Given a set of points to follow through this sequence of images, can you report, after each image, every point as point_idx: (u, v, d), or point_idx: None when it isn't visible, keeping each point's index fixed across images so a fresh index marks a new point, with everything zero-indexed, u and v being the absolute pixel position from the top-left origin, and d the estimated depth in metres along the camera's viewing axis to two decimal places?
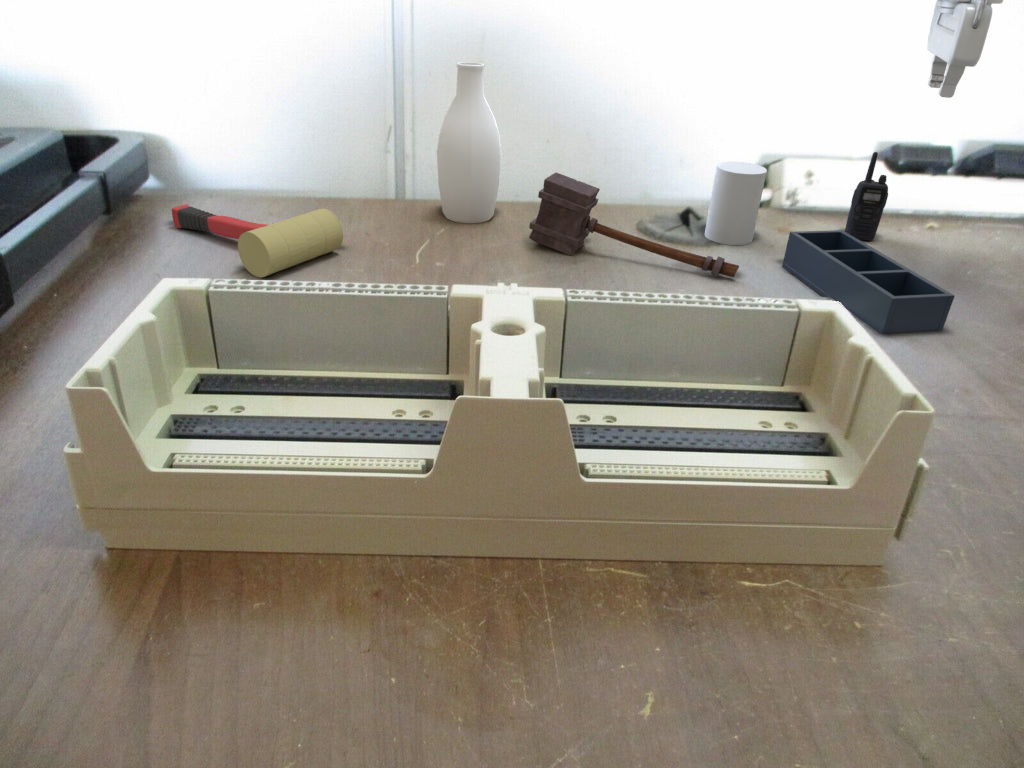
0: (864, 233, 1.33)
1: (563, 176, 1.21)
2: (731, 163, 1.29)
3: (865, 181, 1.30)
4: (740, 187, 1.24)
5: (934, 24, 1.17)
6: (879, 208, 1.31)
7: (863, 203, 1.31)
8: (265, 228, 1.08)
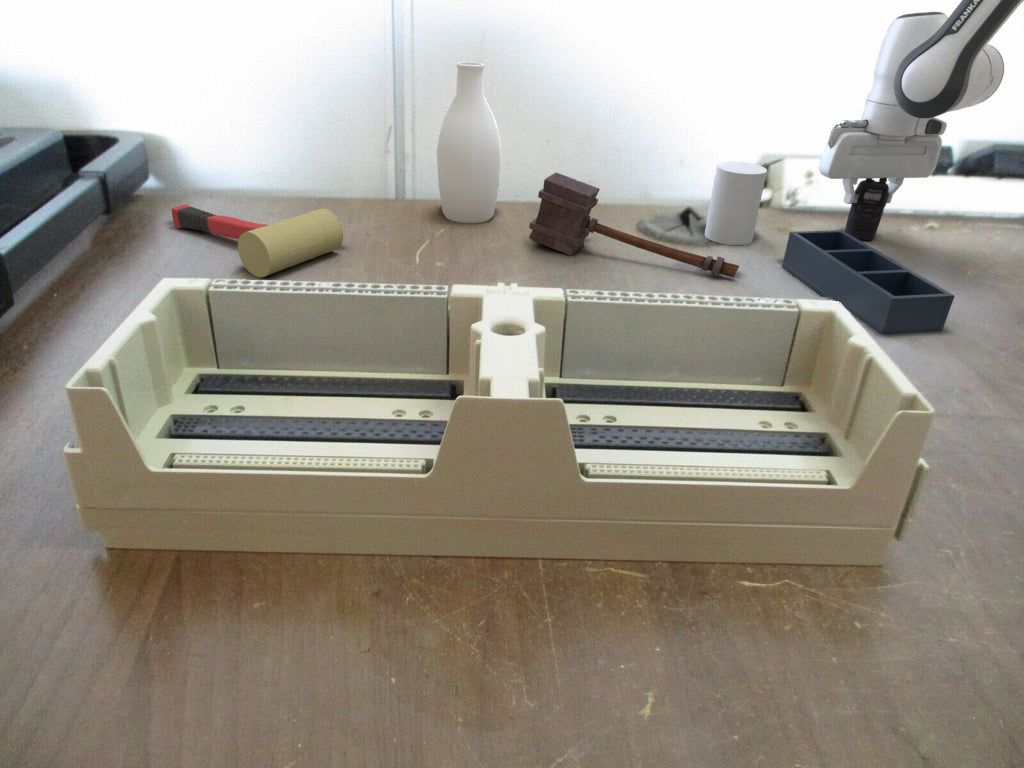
0: (865, 233, 1.33)
1: (563, 176, 1.21)
2: (731, 163, 1.29)
3: (866, 180, 1.30)
4: (740, 187, 1.24)
5: None
6: (879, 208, 1.31)
7: (863, 203, 1.31)
8: (265, 228, 1.08)
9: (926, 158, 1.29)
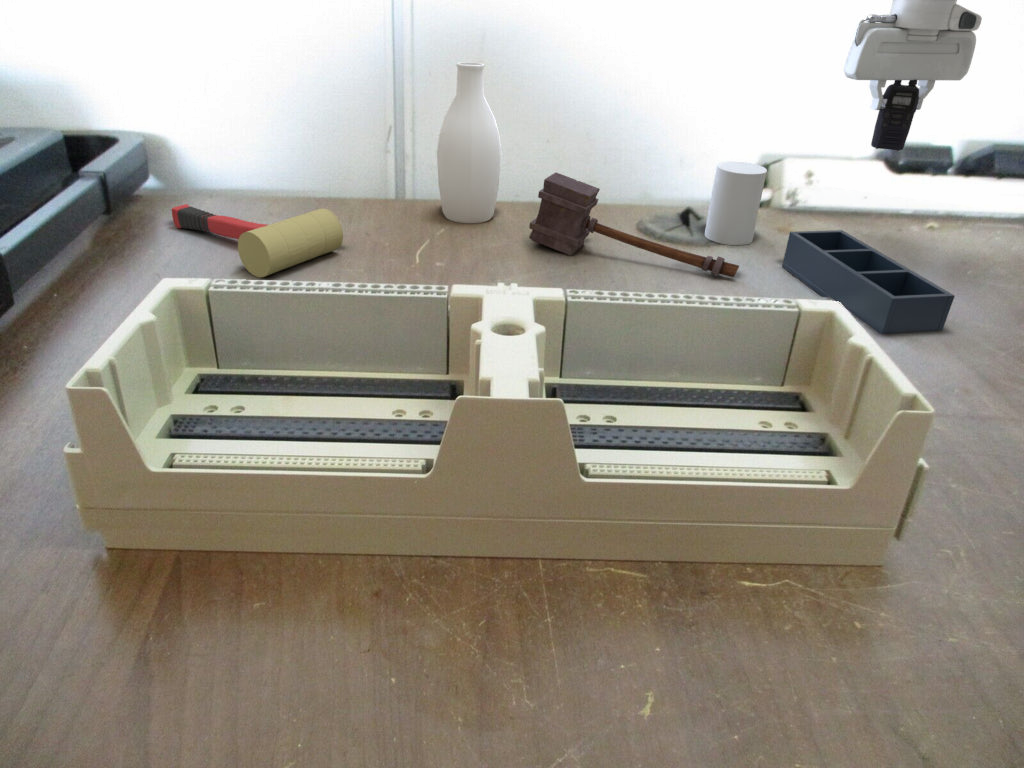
0: (893, 142, 1.25)
1: (563, 176, 1.21)
2: (731, 163, 1.29)
3: (894, 84, 1.22)
4: (740, 187, 1.24)
5: None
6: (909, 113, 1.22)
7: (892, 108, 1.23)
8: (265, 228, 1.08)
9: (959, 58, 1.20)
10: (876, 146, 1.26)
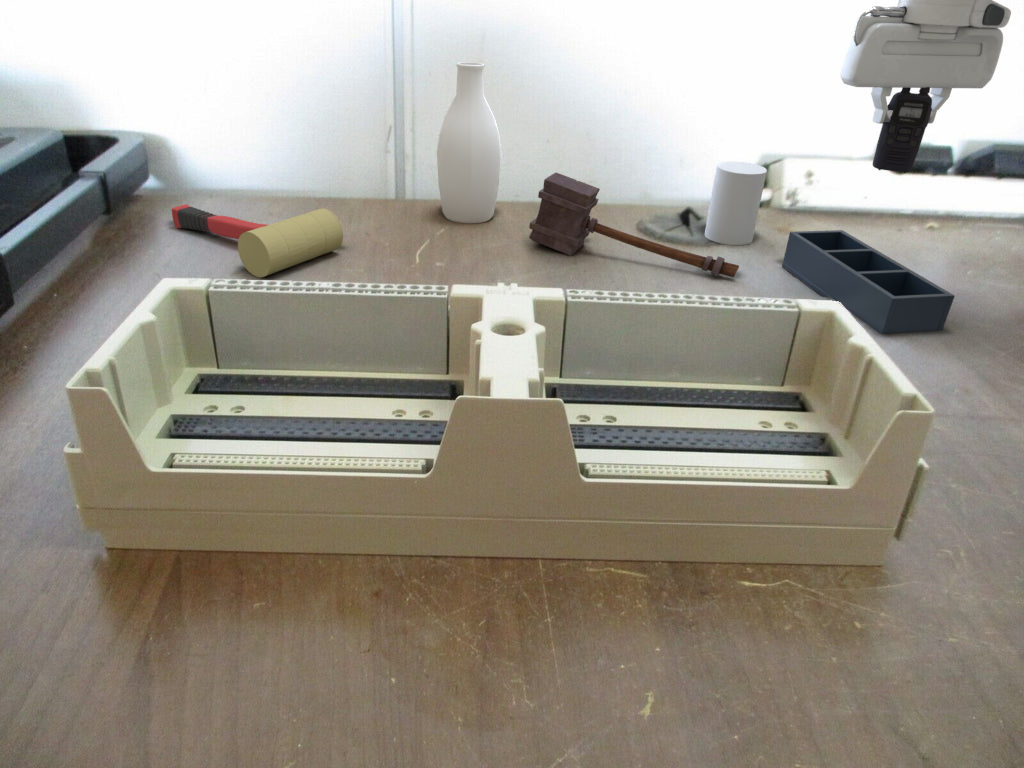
0: (900, 162, 1.03)
1: (563, 176, 1.21)
2: (731, 163, 1.29)
3: (902, 92, 1.00)
4: (740, 187, 1.24)
5: None
6: (920, 128, 1.00)
7: (898, 122, 1.01)
8: (265, 228, 1.08)
9: (982, 61, 0.98)
10: (878, 167, 1.04)
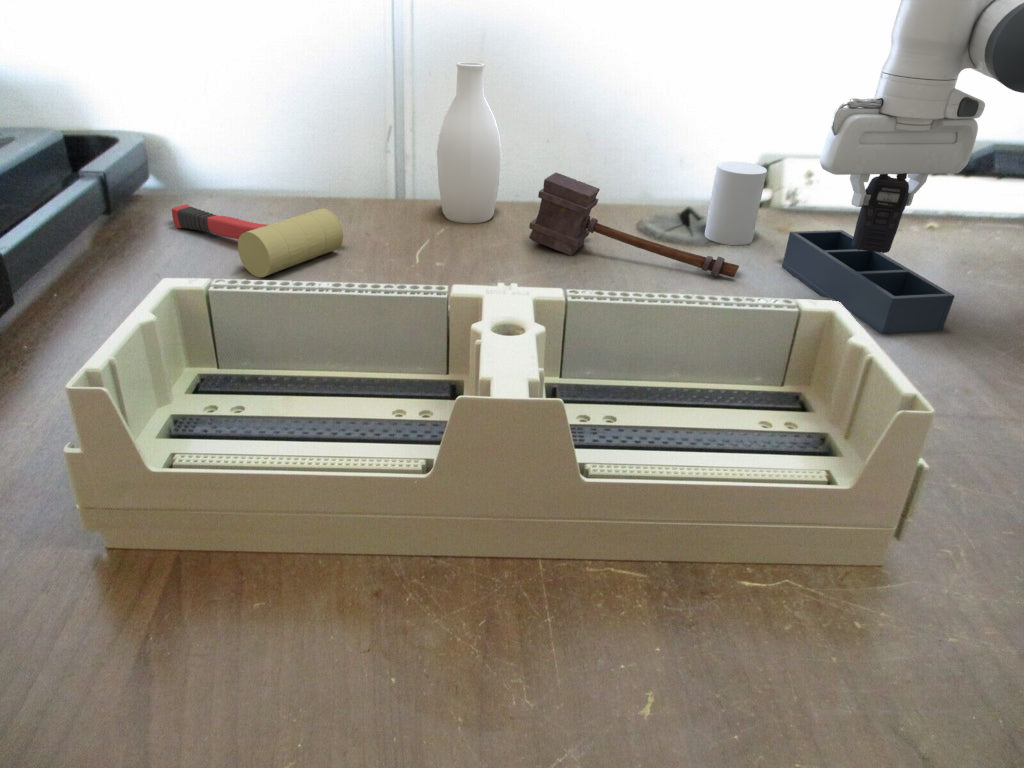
0: (878, 244, 1.05)
1: (563, 176, 1.21)
2: (731, 163, 1.29)
3: (880, 177, 1.02)
4: (740, 187, 1.24)
5: None
6: (897, 212, 1.03)
7: (876, 205, 1.03)
8: (265, 228, 1.08)
9: (957, 148, 1.00)
10: (857, 247, 1.06)
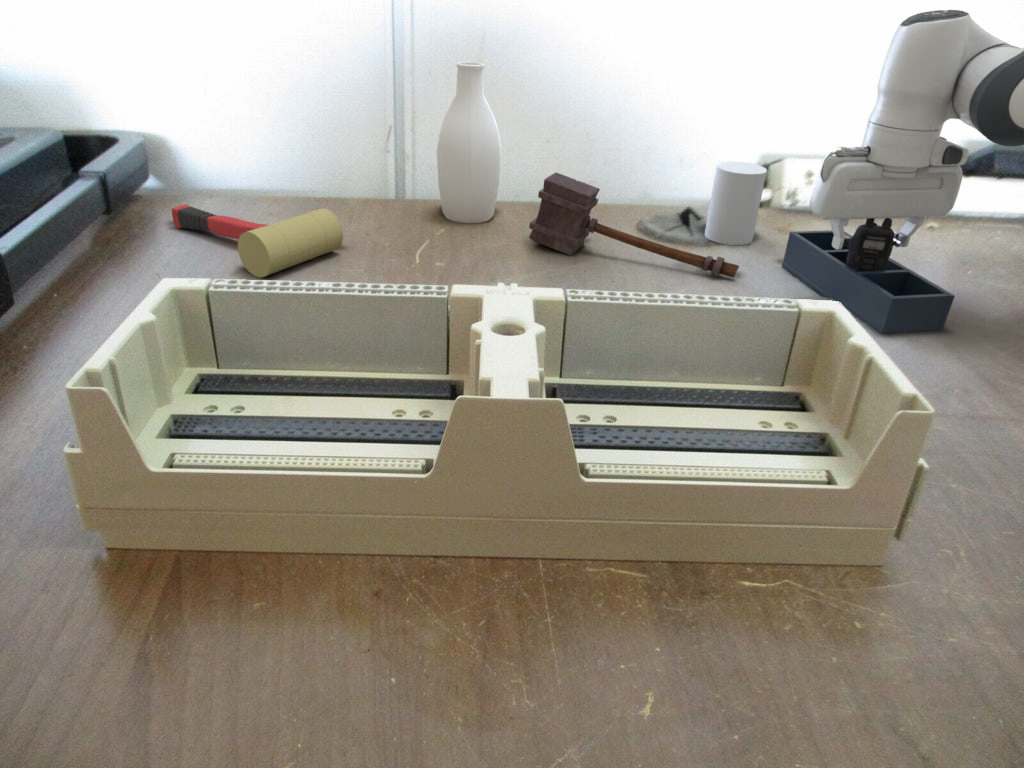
0: None
1: (563, 176, 1.21)
2: (731, 163, 1.29)
3: (865, 225, 1.05)
4: (740, 187, 1.24)
5: None
6: (883, 259, 1.06)
7: (863, 253, 1.06)
8: (265, 228, 1.08)
9: (943, 193, 1.03)
10: None
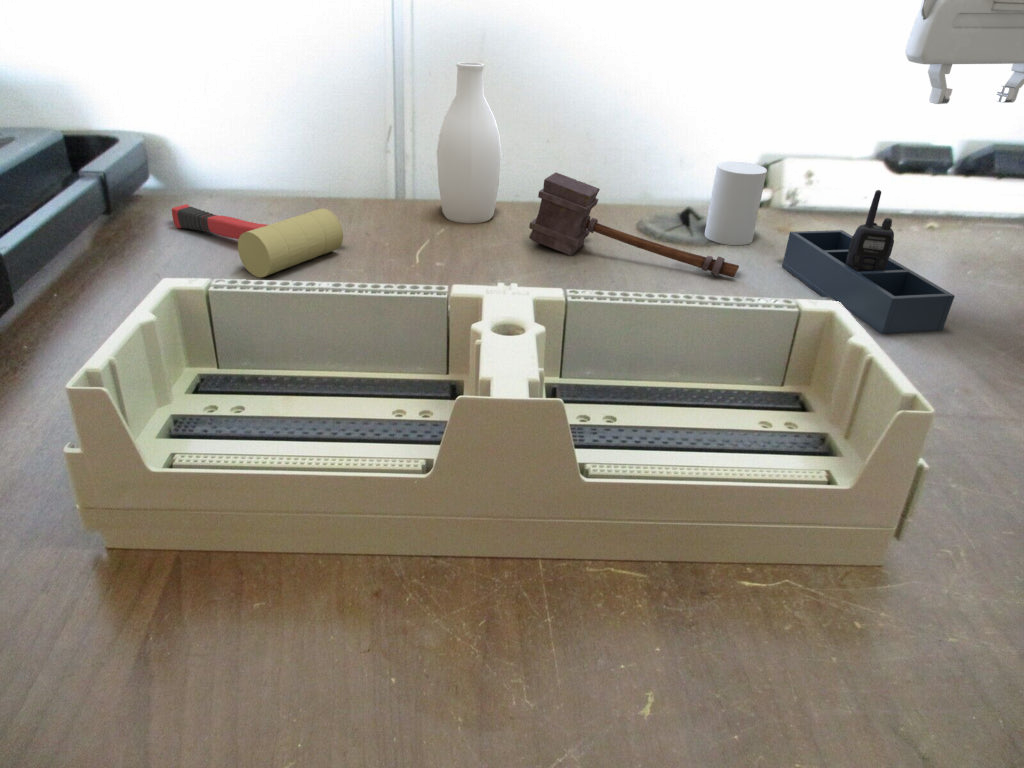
0: None
1: (563, 176, 1.21)
2: (731, 163, 1.29)
3: (865, 225, 1.05)
4: (740, 187, 1.24)
5: None
6: (883, 259, 1.06)
7: (863, 253, 1.06)
8: (265, 228, 1.08)
9: None
10: None
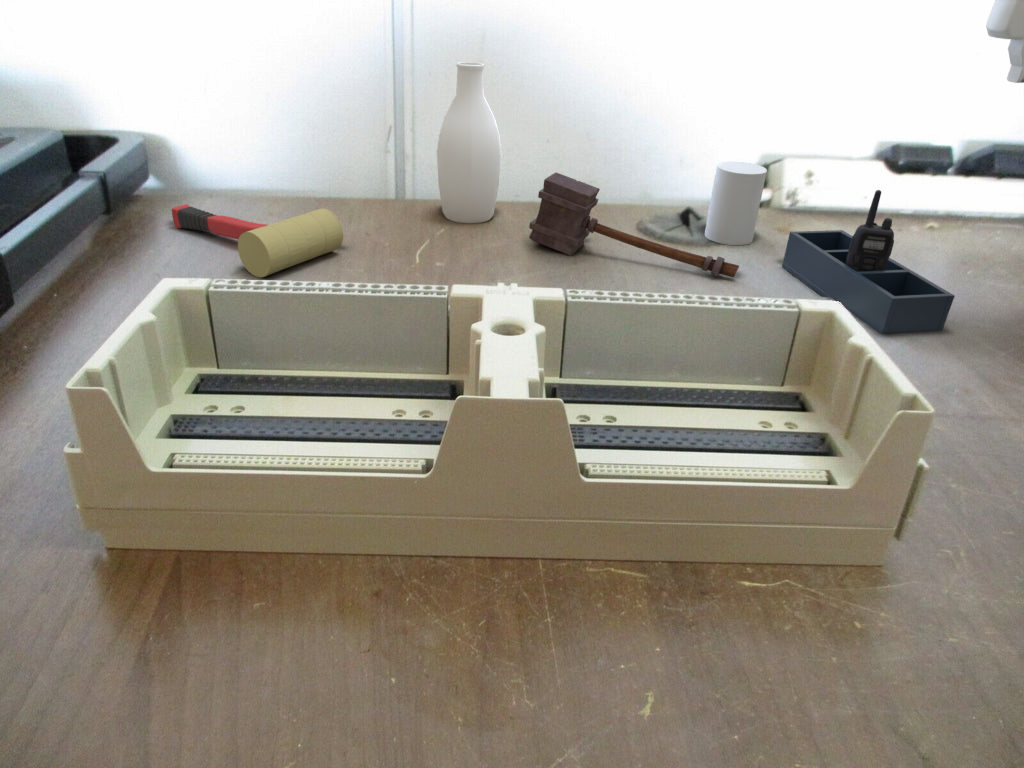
0: None
1: (563, 176, 1.21)
2: (731, 163, 1.29)
3: (865, 225, 1.05)
4: (740, 187, 1.24)
5: None
6: (883, 259, 1.06)
7: (863, 253, 1.06)
8: (265, 228, 1.08)
9: None
10: None
